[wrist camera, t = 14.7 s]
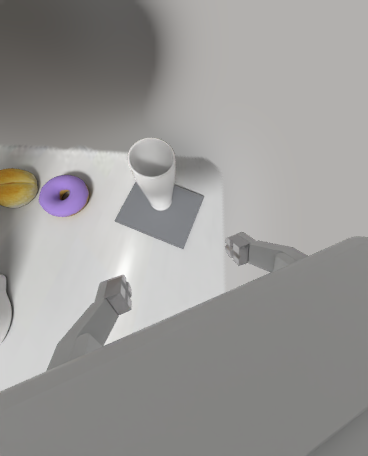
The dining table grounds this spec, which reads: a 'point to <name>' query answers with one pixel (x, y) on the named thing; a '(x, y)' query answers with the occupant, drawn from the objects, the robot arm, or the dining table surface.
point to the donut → (54, 192)
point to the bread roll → (17, 187)
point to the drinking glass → (154, 170)
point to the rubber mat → (161, 215)
